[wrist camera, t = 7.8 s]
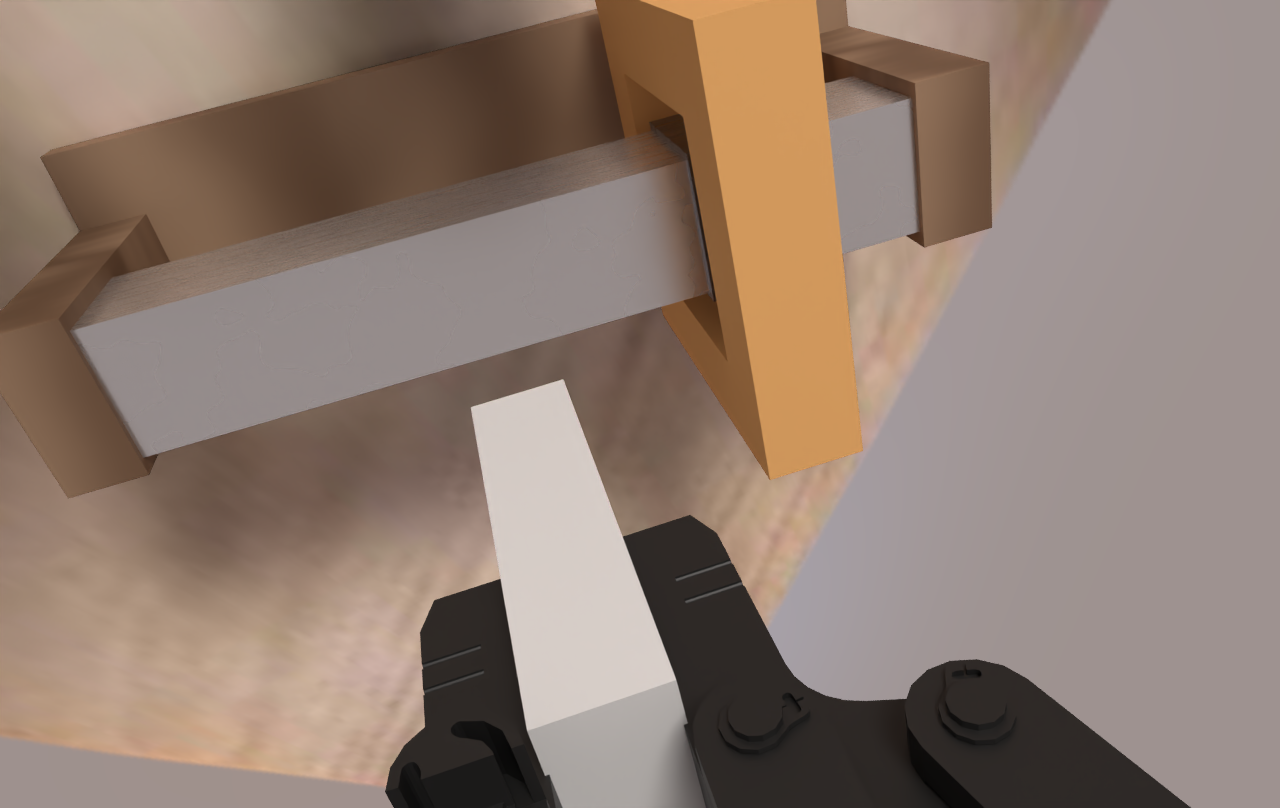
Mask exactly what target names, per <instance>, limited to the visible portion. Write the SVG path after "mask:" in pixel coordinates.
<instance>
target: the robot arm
mask: <svg viewBox="0 0 1280 808" xmlns="http://www.w3.org/2000/svg"><path fill="white" fill-rule="evenodd" d="M471 412H472V418H473V423H474V429H475V435H476V441H477V446H478V452H479V458H480V464H481V469H482V475H483V481H484V486H485V492H486V498H487V504H488V509H489V515H490V521H491V527H492V532H493V538H494V544H495V550H496V555H497V561H498V567H499V573H500V578H501V579H499V580H496V581H493V582H490V583H486V584H483V585H480V586H477V587H474V588H471V589H468V590H465V591H462V592H459V593H456V594H452V595H449V596H446V597H443V598H440V599H437V600H434V602H433V605H432V607H431V609H430V611H429V614H428V616H427V618H426V620H425V623H424V625H423V627H422V629H421V632H420V638H421V657H422V665H423V669H422V677H423V690H424V693H425V695H423V696H424V715H425V728H424V729H422V730H421V731H420V732H419V733H418V734H417V735H416V736H415V737H413V738H412V739H411V740H410V741H409V742H408V743H407V744H406V745H404V747H403V749H402V750H401V752H400V753H399V755H398V757H397V758H396V760H395V761H394V763H393V765H392V766H391V768H390V772H389V776H388V781H387V786H386V790H385V792H386V794H387V796H388V798H389V800H390V802H391V803H392V805H393V807H394V808H1191V807H1189V806H1188V805H1187V804H1185V803H1184V802H1183V801H1182V800H1180V799H1179V798H1178V797H1176V796H1175V795H1174V794H1173V793H1171V792H1170V791H1169V790H1168V789H1166V788H1165V787H1164V786H1163V785H1161V784H1160V783H1159V782H1158V781H1156V780H1155V779H1154V778H1152V777H1151V776H1150V775H1149V774H1147V773H1146V772H1145V771H1143V770H1142V769H1141V768H1140V767H1138V766H1137V765H1136V764H1135V763H1133V762H1132V761H1131V760H1130V759H1128V758H1127V757H1126V756H1125V755H1123V754H1122V753H1121V752H1119V751H1118V750H1117V749H1116V748H1114V747H1113V746H1112V745H1111V744H1109V743H1108V742H1107V741H1106V740H1104V739H1103V738H1102V737H1100V736H1099V735H1098V734H1096V733H1095V732H1094V731H1093V730H1091V729H1090V728H1089V727H1088V726H1086V725H1085V724H1084V723H1083V722H1081V721H1080V720H1079V719H1077V718H1076V717H1075V716H1074V715H1073V714H1071V713H1070V712H1069V711H1067V710H1066V709H1065V708H1064V707H1062V706H1061V705H1060V704H1058V703H1057V702H1056V701H1055V700H1053V699H1052V698H1051V697H1049V696H1048V695H1047V694H1046V693H1045V692H1043V691H1042V690H1041V689H1039V688H1038V687H1037V686H1036V685H1034V684H1033V683H1032V682H1030V681H1029V680H1028V679H1027V678H1025V677H1023V676H1021V675H1020V674H1018V673H1016V672H1014V671H1012V670H1011V669H1009V668H1007V667H1005V666H1003V665H999V664H994V663H990V662H986V661H981V660H977V659H976V660H959V661H949V662H946V663H944V664H941V665H939V666H936V667H934V668H931V669H929V670H927V671H926V672H925V673H924V674H923V675H922V676H921V677H919V678H918V679H917V680H916V681H915V682H914V683H913V684H912V685H911V688H910V691H909V693H908V696H907V699H897V700H880V701H879V700H877V701H850V700H849V701H847V700H841V699H837V698H833V697H829V696H825V695H823V694H820V693H819V692H816V691H814V690H812V689H810V688H808V687H807V686H806V685H804V684H803V683H802V682H801V681H799V680H798V679H797V678H796V677H794V675H793V674H792V672H791V671H790V670H789V668H788V667H787V665H786V664H785V662H784V660H783V659H782V657H781V655H780V653H779V651H778V649H777V647H776V645H775V643H774V641H773V639H772V637H771V636H770V634H769V632H768V630H767V628H766V626H765V624H764V622H763V620H762V618H761V617H760V615H759V613H758V611H757V609H756V607H755V605H754V603H753V601H752V599H751V598H750V596H749V594H748V592H747V590H746V588H745V586H743V584H742V581H741V579H740V577H739V575H738V573H737V571H736V569H735V567H734V565H733V564H732V563H731V560H730V558H729V556H728V554H727V552H726V550H725V548H724V546H723V544H722V542H721V540H720V539H719V537H718V535H717V533H716V532H714V531H713V530H711V529H710V528H708V527H707V526H705V525H704V524H703V523H701V522H700V521H698V520H697V519H695V518H694V517H692V516H691V515H689V516H686V517H682V518H679V519H676V520H673V521H670V522H667V523H664V524H661V525H658V526H655V527H652V528H648V529H645V530H642V531H639V532H636V533H633V534H630V535H627V536H624V537H622V534H621V531H620V529H619V526H618V523H617V521H616V518H615V515H614V513H613V510H612V507H611V505H610V502H609V500H608V497H607V494H606V492H605V489H604V486H603V484H602V481H601V478H600V476H599V473H598V470H597V468H596V465H595V462H594V460H593V457H592V454H591V452H590V449H589V446H588V444H587V441H586V438H585V436H584V433H583V430H582V428H581V425H580V422H579V420H578V417H577V414H576V412H575V409H574V406H573V404H572V401H571V398H570V396H569V393H568V390H567V388H566V385H565V382H564V380H563V379H562V380H559V381H556V382H552V383H549V384H546V385H542V386H539V387H536V388H533V389H529V390H526V391H523V392H519V393H516V394H513V395H509V396H506V397H503V398H500V399H496V400H493V401H490V402H486V403H483V404H480V405H476V406H473V407H471Z"/></svg>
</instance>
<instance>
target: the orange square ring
mask: <svg viewBox="0 0 1280 808" xmlns="http://www.w3.org/2000/svg"><path fill="white" fill-rule="evenodd" d="M595 2H596V6H597V11H598V16H599V20H600V25H601V30H602V34H603V39H604V43H605V48H606V53H607V57H608V62H609V67H610V71H611V76H612V81H613V85H614V90H615V94H616V99H617V104H618V108H619V113H620V118H621V122H622V127H623V131H624V136H625V138H627V137H630V136H634V135H638V134H641V133H645V132H649V131H651V129H650V124H649V122H651V121H655V120H658V119H662V118H666V117H669V116H673V115H677V114H680V115H681V116H683V119H684V125H685V130H686V136H687V141H688V146H689V152H690V157H691V163H692V168H693V174H694V179H695V185H696V190H697V196H698V201H699V207H700V212H701V218H702V223H703V229H704V234H705V240H706V245H707V251H708V256H709V262H710V267H711V273H712V278H713V284H714V289H715V295H716V300H717V301H715V302H714V301H713V300H712V299H711V297H710V296H709V295H708V294H703V295H700V296H697V297H693V298H690V299H686V300H683V301H679V302H676V303H673V304H669V305H666V306H662V312H663V316H664V317H665V319H666V320H667V322H668V324H669V325H670V327H671V328H672V330H673V331H674V333H675V334H676V336H677V337H678V339H679V340H680V342H681V344H682V345H683V347H684V348H685V350H686V351H687V353H688V354H689V356H690V357H691V359H692V360H693V362H694V364H695V365H696V367H697V368H698V370H699V371H700V373H701V374H702V376H703V377H704V379H705V381H706V382H707V384H708V385H709V387H710V388H711V390H712V391H713V393H714V394H715V396H716V397H717V399H718V401H719V402H720V404H721V405H722V407H723V408H724V410H725V411H726V413H727V414H728V416H729V417H730V419H731V421H732V422H733V424H734V425H735V427H736V428H737V430H738V431H739V433H740V434H741V436H742V437H743V439H744V441H745V442H746V444H747V445H748V447H749V448H750V450H751V451H752V453H753V454H754V456H755V458H756V459H757V461H758V462H759V464H760V465H761V467H762V468H763V470H764V471H765V473H766V474H767V476H768V478H769V479H770V480H771V479H775V478H778V477H781V476H784V475H787V474H791V473H794V472H797V471H800V470H803V469H807V468H810V467H813V466H816V465H819V464H823V463H826V462H829V461H832V460H835V459H838V458H842V457H845V456H848V455H851V454H854V453H858V452H861V451H863V447H862V437H861V428H860V418H859V408H858V399H857V389H856V380H855V370H854V360H853V351H852V341H851V332H850V322H849V312H848V303H847V293H846V283H845V274H844V264H843V255H842V245H841V235H840V226H839V216H838V207H837V197H836V187H835V178H834V168H833V158H832V149H831V139H830V130H829V120H828V110H827V101H826V91H825V82H824V72H823V62H822V53H821V43H820V33H819V24H818V14H817V5H816V0H595Z"/></svg>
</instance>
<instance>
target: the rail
mask: <svg viewBox="0 0 1280 808" xmlns="http://www.w3.org/2000/svg"><path fill="white" fill-rule="evenodd" d="M825 91H826V101H827V110H828V120H829V130H830V139H831V149H832V158H833V168H834V178H835V187H836V197H837V207H838V216H839V226H840V235H841V245H842V254H844V253H848V252H851V251H854V250H858V249H861V248H865V247H868V246H872V245H875V244H878V243H882V242H885V241H889V240H892V239H896V238H899V237H902V236H906V235H909V234H913V233H916V232H920V224H919V207H918V189H917V172H916V155H915V138H914V121H913V103H912V98H911V97H908V96H906V95H903V94H900V93H897V92H895V91H892V90H889V89H887V88H884V87H881V86H878V85H876V84H873V83H870V82H867V81H865V80H862V79H859V78H857V77H854V76H850V77H847V78H843V79H839V80H836V81H832V82H828V83H825ZM649 124H650V129H651V131H649V132H645V133H641V134H638V135H634V136H630V137H627V138H623V139H619V140H616V141H612V142H608V143H605V144H601V145H597V146H594V147H590V148H586V149H583V150H579V151H575V152H572V153H568V154H564V155H561V156H557V157H553V158H550V159H546V160H542V161H539V162H535V163H531V164H528V165H524V166H520V167H517V168H513V169H509V170H506V171H502V172H498V173H495V174H491V175H487V176H484V177H480V178H476V179H473V180H469V181H465V182H462V183H458V184H454V185H451V186H447V187H443V188H440V189H436V190H432V191H429V192H425V193H421V194H418V195H414V196H410V197H407V198H403V199H399V200H396V201H392V202H388V203H385V204H381V205H377V206H374V207H370V208H366V209H363V210H359V211H355V212H352V213H348V214H344V215H341V216H337V217H333V218H330V219H326V220H322V221H319V222H315V223H311V224H308V225H304V226H300V227H297V228H293V229H289V230H286V231H282V232H278V233H275V234H271V235H267V236H264V237H260V238H256V239H253V240H249V241H245V242H242V243H238V244H234V245H231V246H227V247H223V248H220V249H216V250H212V251H209V252H205V253H201V254H197V255H194V256H190V257H186V258H183V259H179V260H175V261H172V262H168V263H164V264H161V265H157V266H153V267H150V268H146V269H142V270H139V271H135V272H131V273H128V274H124V275H120V276H117V277H113V278H111V279H110V281H109V282H108V283H107V284H106V286H105V287H104V288H103V289H102V291H101V292H100V293H99V295H98V296H97V297H96V298H95V300H94V301H93V302H92V304H91V305H90V306H89V307H88V309H87V310H86V311H85V312H84V314H83V315H82V316H81V318H80V319H79V320H78V321H77V323H76V324H75V325H74V326H73V328H72V329H71V330H70V332H71V334H72V335H73V337H74V339H75V341H76V342H77V344H78V346H79V347H80V349H81V351H82V353H83V354H84V356H85V358H86V360H87V361H88V363H89V365H90V366H91V368H92V370H93V372H94V373H95V375H96V377H97V379H98V380H99V382H100V384H101V385H102V387H103V389H104V391H105V392H106V394H107V396H108V398H109V399H110V401H111V403H112V404H113V406H114V408H115V410H116V411H117V413H118V415H119V417H120V418H121V420H122V422H123V423H124V425H125V427H126V429H127V430H128V432H129V434H130V436H131V437H132V439H133V441H134V442H135V444H136V446H137V448H138V449H139V451H140V453H141V455H142V456H143V458H144V457H148V456H151V455H155V454H158V453H161V452H165V451H168V450H172V449H175V448H179V447H182V446H185V445H189V444H192V443H196V442H199V441H203V440H206V439H209V438H213V437H216V436H220V435H223V434H227V433H230V432H233V431H237V430H240V429H244V428H247V427H251V426H254V425H257V424H261V423H264V422H268V421H271V420H275V419H278V418H282V417H285V416H288V415H292V414H295V413H299V412H302V411H306V410H309V409H312V408H316V407H319V406H323V405H326V404H330V403H333V402H336V401H340V400H343V399H347V398H350V397H354V396H357V395H360V394H364V393H367V392H371V391H374V390H378V389H381V388H384V387H388V386H391V385H395V384H398V383H402V382H405V381H408V380H412V379H415V378H419V377H422V376H426V375H429V374H432V373H436V372H439V371H443V370H446V369H450V368H453V367H456V366H460V365H463V364H467V363H470V362H474V361H477V360H480V359H484V358H487V357H491V356H494V355H498V354H501V353H505V352H508V351H511V350H515V349H518V348H522V347H525V346H529V345H532V344H535V343H539V342H542V341H546V340H549V339H553V338H556V337H559V336H563V335H566V334H570V333H573V332H577V331H580V330H583V329H587V328H590V327H594V326H597V325H601V324H604V323H607V322H611V321H614V320H618V319H621V318H625V317H628V316H631V315H635V314H638V313H642V312H645V311H649V310H652V309H655V308H659V307H662V306H666V305H669V304H673V303H676V302H679V301H683V300H686V299H690V298H693V297H697V296H700V295H703V294H708V295H709V296H710V297H711V299H712V300H713V301H714V302H715V301H717V300H716V295H715V289H714V284H713V278H712V273H711V267H710V262H709V256H708V251H707V245H706V240H705V234H704V229H703V223H702V218H701V212H700V207H699V201H698V196H697V190H696V185H695V179H694V174H693V168H692V163H691V157H690V152H689V146H688V141H687V136H686V130H685V125H684V119H683V116H681V115H680V114H677V115H673V116H669V117H666V118H662V119H658V120H655V121H651V122H649Z"/></svg>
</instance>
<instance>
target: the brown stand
mask: <svg viewBox="0 0 1280 808" xmlns="http://www.w3.org/2000/svg"><path fill="white" fill-rule="evenodd" d="M816 5H817V14H818V24H819V33H820V43H821V53H822V62H823V72H824V82H825V83H828V82H832V81H836V80H839V79H843V78H847V77H850V76H854V77H857V78H859V79H862V80H865V81H867V82H870V83H873V84H876V85H878V86H881V87H884V88H887V89H889V90H892V91H895V92H897V93H900V94H903V95H906V96H908V97H911V98H912V103H913V121H914V138H915V155H916V172H917V189H918V207H919V224H920V232H916V233H913V234H909V235H906V236H907V237H909V238H911V239H912V240H914V241H915V242H917V243H918V244H920V245H921V246H923V247H927V246H931V245H934V244H937V243H941V242H944V241H948V240H951V239H954V238H958V237H961V236H965V235H968V234H972V233H975V232H978V231H982V230H985V229H989V228H992V204H991V144H990V85H989V63H988V62H985V61H981V60H977V59H973V58H969V57H965V56H961V55H958V54H954V53H950V52H946V51H942V50H938V49H934V48H931V47H927V46H923V45H919V44H915V43H911V42H907V41H904V40H900V39H896V38H892V37H888V36H884V35H880V34H877V33H873V32H869V31H865V30H861V29H857V28H853V27H849V26H848V19H847V8H846V0H816ZM623 138H625V136H624V131H623V127H622V122H621V118H620V113H619V108H618V104H617V99H616V94H615V90H614V85H613V81H612V76H611V71H610V67H609V62H608V57H607V53H606V48H605V43H604V39H603V34H602V30H601V25H600V20H599V16H598V11H597V9H595V10H591V11H587V12H583V13H579V14H575V15H572V16H568V17H564V18H560V19H556V20H552V21H548V22H545V23H541V24H537V25H533V26H529V27H525V28H521V29H517V30H514V31H510V32H506V33H502V34H498V35H494V36H490V37H486V38H483V39H479V40H475V41H471V42H467V43H463V44H459V45H455V46H452V47H448V48H444V49H440V50H436V51H432V52H428V53H424V54H421V55H417V56H413V57H409V58H405V59H401V60H397V61H394V62H390V63H386V64H382V65H378V66H374V67H370V68H366V69H363V70H359V71H355V72H351V73H347V74H343V75H339V76H335V77H332V78H328V79H324V80H320V81H316V82H312V83H308V84H304V85H301V86H297V87H293V88H289V89H285V90H281V91H277V92H274V93H270V94H266V95H262V96H258V97H254V98H250V99H246V100H243V101H239V102H235V103H231V104H227V105H223V106H219V107H215V108H212V109H208V110H204V111H200V112H196V113H192V114H188V115H184V116H181V117H177V118H173V119H169V120H165V121H161V122H157V123H153V124H150V125H146V126H142V127H138V128H134V129H130V130H126V131H123V132H119V133H115V134H111V135H107V136H103V137H99V138H95V139H92V140H88V141H84V142H80V143H76V144H72V145H68V146H64V147H61V148H57V149H53V150H50V151H49V152H48V153H46V154H45V155H43V156H42V157H40V158H41V160H42V162H43V163H44V165H45V167H46V169H47V171H48V173H49V175H50V176H51V178H52V180H53V182H54V184H55V186H56V188H57V189H58V191H59V193H60V195H61V197H62V199H63V201H64V202H65V204H66V206H67V208H68V210H69V212H70V213H71V215H72V217H73V219H74V221H75V223H76V225H77V226H78V228H79V230H80V232H79V233H78V234H77V235H76V236H75V237H74V238H73V239H72V240H71V241H70V242H69V243H68V244H67V245H66V246H65V247H64V248H63V249H62V250H61V251H60V252H59V253H58V254H57V255H56V256H55V257H54V258H53V259H52V260H51V261H50V262H49V263H48V264H47V265H46V266H45V267H44V268H43V269H42V270H41V271H40V272H39V273H38V274H37V275H36V276H35V277H34V278H33V279H32V280H31V281H30V282H29V283H28V284H27V285H26V286H25V287H24V288H23V289H22V290H21V291H20V292H19V293H18V294H17V295H16V296H15V297H14V298H13V299H12V300H11V301H10V302H9V303H8V304H7V305H6V306H5V307H4V308H3V309H2V310H1V311H0V394H1V395H2V397H3V398H4V400H5V401H6V403H7V404H8V406H9V407H10V409H11V411H12V412H13V414H14V415H15V417H16V418H17V420H18V421H19V423H20V424H21V426H22V428H23V429H24V431H25V432H26V434H27V435H28V437H29V438H30V440H31V441H32V443H33V445H34V446H35V448H36V449H37V451H38V452H39V454H40V455H41V457H42V459H43V460H44V462H45V463H46V465H47V466H48V468H49V469H50V471H51V472H52V474H53V476H54V477H55V479H56V480H57V482H58V483H59V485H60V486H61V488H62V489H63V491H64V493H65V494H66V496H67V497H68V498H72V497H75V496H78V495H82V494H85V493H89V492H92V491H95V490H99V489H102V488H106V487H109V486H112V485H116V484H119V483H123V482H126V481H130V480H133V479H136V478H140V477H143V476H147V475H149V474H150V471H151V469H152V467H153V465H154V462H155V460H156V458H157V456H158V454H155V455H151V456H148V457H144V458H143V456H142V455H141V453H140V451H139V449H138V448H137V446H136V444H135V442H134V441H133V439H132V437H131V436H130V434H129V432H128V430H127V429H126V427H125V425H124V423H123V422H122V420H121V418H120V417H119V415H118V413H117V411H116V410H115V408H114V406H113V404H112V403H111V401H110V399H109V398H108V396H107V394H106V392H105V391H104V389H103V387H102V385H101V384H100V382H99V380H98V379H97V377H96V375H95V373H94V372H93V370H92V368H91V366H90V365H89V363H88V361H87V360H86V358H85V356H84V354H83V353H82V351H81V349H80V347H79V346H78V344H77V342H76V341H75V339H74V337H73V335H72V334H71V332H70V330H71V329H72V328H73V326H74V325H75V324H76V323H77V321H78V320H79V319H80V318H81V316H82V315H83V314H84V312H85V311H86V310H87V309H88V307H89V306H90V305H91V304H92V302H93V301H94V300H95V298H96V297H97V296H98V295H99V293H100V292H101V291H102V289H103V288H104V287H105V286H106V284H107V283H108V282H109V281H110V279H111V278H113V277H117V276H120V275H124V274H128V273H131V272H135V271H139V270H142V269H146V268H150V267H153V266H157V265H161V264H164V263H168V262H172V261H175V260H179V259H183V258H186V257H190V256H194V255H197V254H201V253H205V252H209V251H212V250H216V249H220V248H223V247H227V246H231V245H234V244H238V243H242V242H245V241H249V240H253V239H256V238H260V237H264V236H267V235H271V234H275V233H278V232H282V231H286V230H289V229H293V228H297V227H300V226H304V225H308V224H311V223H315V222H319V221H322V220H326V219H330V218H333V217H337V216H341V215H344V214H348V213H352V212H355V211H359V210H363V209H366V208H370V207H374V206H377V205H381V204H385V203H388V202H392V201H396V200H399V199H403V198H407V197H410V196H414V195H418V194H421V193H425V192H429V191H432V190H436V189H440V188H443V187H447V186H451V185H454V184H458V183H462V182H465V181H469V180H473V179H476V178H480V177H484V176H487V175H491V174H495V173H498V172H502V171H506V170H509V169H513V168H517V167H520V166H524V165H528V164H531V163H535V162H539V161H542V160H546V159H550V158H553V157H557V156H561V155H564V154H568V153H572V152H575V151H579V150H583V149H586V148H590V147H594V146H597V145H601V144H605V143H608V142H612V141H616V140H619V139H623Z"/></svg>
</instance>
